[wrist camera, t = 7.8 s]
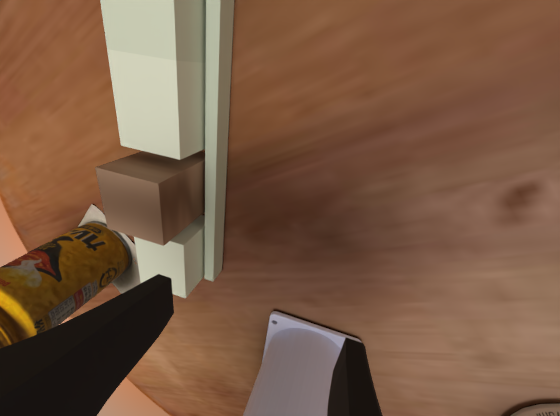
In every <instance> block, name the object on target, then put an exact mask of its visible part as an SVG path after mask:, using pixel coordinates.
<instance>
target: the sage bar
mask: <svg viewBox="0 0 560 416" xmlns="http://www.w3.org/2000/svg"><path fill="white" fill-rule="evenodd" d="M100 2H101V9H102V16H103V23H104V30H105V37H106V44H107V51H108V58H109V65H110V72H111V79H112V86H113V93H114V100H115V107H116V114H117V121H118V128H119V135H120V142H121V146H125V147H129V148H134V149H138V150H142V151H146V152H150V153H154V154H158V155H162V156H166V157H171V158H175V159H179V160H181V159H183V158H185V157H188V156H190V155H192V154H194V153H197V152H199V151H201V150H203V149H205V216H203V215H200V216H199V217H198V218H197V219H195V220H194V221H193V222H192V223H191V224H189V225H188V226H187V227H186V228H185V229H183V230H182V231H181V232H180V233H179V234H177V235H176V236H175V237H174V238H173V239H171V240H170V241H169V242H168V243H167V244H165V245H164V246H162V245H159V244H156V243H153V242H150V241H146V240H143V239H140V238H137V237H134V240H135V247H136V254H137V261H138V268H139V275H140V282H141V283H143V282H144V281H146V280H148V279H150V278H152V277H154V276H156V275H158V274H160V275H163V276H166V277H169V278H171V280H172V294H174V295H177V296H180V297H183V298H186V297H187V296H188V295H189V294H190V293H191V291H192V290H193V289H194V288H195V286H196V285H197V284H198V283H199V282H200V280H201V279H202V278H203V277H204V275H205V279H207V280H210V281H214V280H215V279H216V277H217V276H218V275H219V273H220V272H221V271H222V262H223V240H224V218H225V196H226V174H227V152H228V130H229V108H230V85H231V63H232V41H233V19H234V0H100Z"/></svg>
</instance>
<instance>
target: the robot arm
mask: <svg viewBox="0 0 560 416" xmlns="http://www.w3.org/2000/svg"><path fill="white" fill-rule="evenodd" d="M173 313H174V309H173V295H172V280H171V278H169V277H166V276H163V275H160V274H158V275H156V276H154V277H152V278H150V279H148V280H146V281H144V282H143V283H141V284H139V285H137V286H135V287H133V288H132V289H130V290H128V291H126V292H124V293H122V294H121V295H119V296H117V297H115V298H113V299H111V300H109V301H107V302H105V303H103V304H102V305H100V306H98V307H96V308H94V309H92V310H89V311H87V312H85V313H83V314H81V315H79V316H77V317H75V318H73V319H71V320H69V321H67V322H65V323H62V324H60V325H58V326H56V327H53V328H51V329H49V330H46V331H44V332H42V333H39V334H37V335H34V336H32V337H30V338H27V339H24V340H22V341H19V342H16V343H14V344H11V345H8V346H6V347H3V348H0V416H97V414H98V413H99V411H100V410H101V409H102V407H103V406H104V404H105V403H106V401H107V400H108V399H109V397H110V396H111V395H112V393H113V392H114V391H115V390H116V388H117V387H118V386H119V385H120V383H121V382H122V381H123V380H124V378H125V377H126V376H127V375H128V374H129V372H130V371H131V370H132V369H133V367H134V366H135V365H136V364H137V363H138V361H139V360H140V359H141V358H142V356H143V355H144V354H145V353H146V352H147V350H148V349H149V348H150V347H151V345H152V344H153V343H154V342H155V340H156V339H157V338H158V337H159V335H160V334H161V332H162V331H163V329H164V328H165V326H166V325H167V323H168V321H169V320H170V318H171V317H172V315H173ZM243 416H382V413H381V409H380V406H379V403H378V399H377V396H376V392H375V389H374V385H373V381H372V377H371V373H370V369H369V364H368V360H367V355H366V349H365V346H364V344H363V343H362V342H361V341H360V340H359V339H357V338H354V337H351V336H348V335H345V334H342V333H339V332H336V331H333V330H330V329H328V328H325V327H322V326H319V325H316V324H313V323H310V322H307V321H304V320H301V319H298V318H295V317H292V316H289V315H286V314H283V313H280V312H277V311H273V312H272V313H271V315H270V319H269V325H268V330H267V336H266V342H265V348H264V354H263V360H262V365H261V368H260V370H259V373H258V376H257V378H256V381H255V384H254V387H253V389H252V392H251V395H250V397H249V400H248V403H247V406H246V408H245V411H244V414H243Z"/></svg>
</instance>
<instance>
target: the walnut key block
mask: <svg viewBox="0 0 560 416" xmlns="http://www.w3.org/2000/svg"><path fill="white" fill-rule="evenodd" d="M95 169H96V174H97V179H98V184H99V189H100V194H101V199H102V204H103V209H104V214H105V219H106V224H107V228H108V229H111V230H114V231H117V232H121V233H124V234H127V235H130V236H133V237H137V238H140V239H143V240H146V241H150V242H153V243H156V244H159V245H162V246H164V245H165V244H167V243H168V242H169V241H170V240H171V239H173V238H174V237H175V236H176V235H177V234H179V233H180V232H181V231H182V230H183V229H185V228H186V227H187V226H188V225H189V224H191V223H192V222H193V221H194V220H195V219H197V218H198V217H199V216H200V215H201V214H203V213H204V212H205V152H200V151H199V152H197V153H194V154H192V155H190V156H188V157H185V158H183V159H181V160H179V159H175V158H171V157H166V156H162V155H158V154H154V153H150V152H146V151H142V152H139V153H136V154H133V155H130V156H127V157H124V158H121V159H118V160H115V161H112V162H109V163H106V164H103V165H100V166H97V167H95Z"/></svg>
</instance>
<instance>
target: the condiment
mask: <svg viewBox="0 0 560 416" xmlns="http://www.w3.org/2000/svg"><path fill="white" fill-rule="evenodd" d="M133 258H135V261H136V263H137V264H135V261H134V260H133ZM110 283H112V284H113V285H114V286H115V287H116V288H117V289H118V290H119V291H120V293H124V292H126V291H128V290H130V289H132V288H133V287H135V286H137V285H139V284H141V282H140V275H139V268H138V261H137V254H136V247H135V244H134V243H133V242H132V241H131V240H130V239H129V238H128V237H127V236H126V235H125V234H124V233H121V232H117V231H114V230H111V229H108V228H107V224H106V219H105V215H104V214H103V212H101V211H100V210H99V209H98V208H97V207H96V206H94V205H92V204H91V206H90V208H89V209H88V211H87V213H86V215H85V216H84V218H83V219H82V221H81V223H80V224H79V226H78V227H77V228H75V229H73V230H71V231H69V232H68V233H65V234H63V235H61V236H59V237H57V238H55V239H53V240H52V241H50V242H48V243H46V244H44V245H42V246H40V247H38V248H36V249H34V250H31V251H30V252H28V253H27V254H25V255H23V256H21V257H19V258H18V259H15V260H14V261H12V262H10V263H8V264H6V265H4V266H2V267H0V348H3V347H6V346H8V345H11V344H14V343H16V342H19V341H22V340H24V339H27V338H30V337H32V336H34V335H37V334H39V333H42V332H44V331H46V330H49V329H51V328H53V327H56V326H58V325H59V324H61V323H62V322H63V321H64V320H65V319H67V318H68V317H69V316H70V315H71V314H73V313H74V312H75V311H76V310H78V309H79V308H80V307H81V306H83V305H84V304H85V303H87V302H88V301H89V300H90V299H92V298H93V297H95V296H96V295H97V294H98V293H99V292H100V291H102V290H103V289H104V288H105V287H106V286H108V285H109V284H110Z"/></svg>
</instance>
